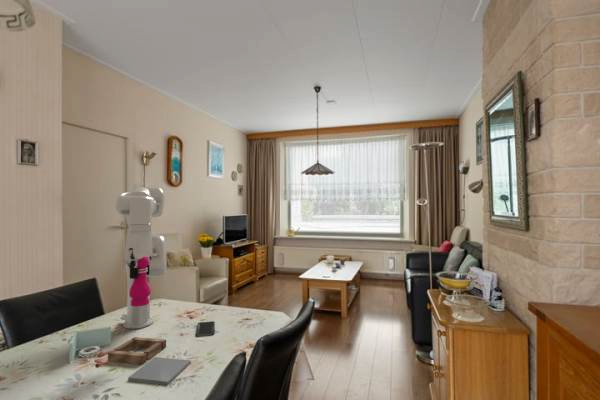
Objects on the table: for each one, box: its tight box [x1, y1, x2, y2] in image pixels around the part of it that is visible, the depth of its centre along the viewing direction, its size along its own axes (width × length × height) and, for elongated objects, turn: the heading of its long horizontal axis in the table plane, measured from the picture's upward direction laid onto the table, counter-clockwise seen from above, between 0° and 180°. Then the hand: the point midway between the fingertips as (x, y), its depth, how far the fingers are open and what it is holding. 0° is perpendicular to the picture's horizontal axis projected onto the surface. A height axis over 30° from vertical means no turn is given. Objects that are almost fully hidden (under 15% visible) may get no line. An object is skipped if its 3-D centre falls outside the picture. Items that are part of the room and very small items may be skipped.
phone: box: [195, 320, 216, 338], centre depth 145 cm, size 8×1×15 cm
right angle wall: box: [68, 326, 112, 363], centre depth 121 cm, size 12×12×8 cm
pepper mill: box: [129, 257, 151, 307], centre depth 121 cm, size 7×7×20 cm
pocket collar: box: [107, 336, 167, 366], centre depth 120 cm, size 14×14×3 cm
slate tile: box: [127, 356, 192, 386], centre depth 108 cm, size 14×14×1 cm
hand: (139, 276), depth 121 cm, fingers closed on pepper mill, 5 cm apart
